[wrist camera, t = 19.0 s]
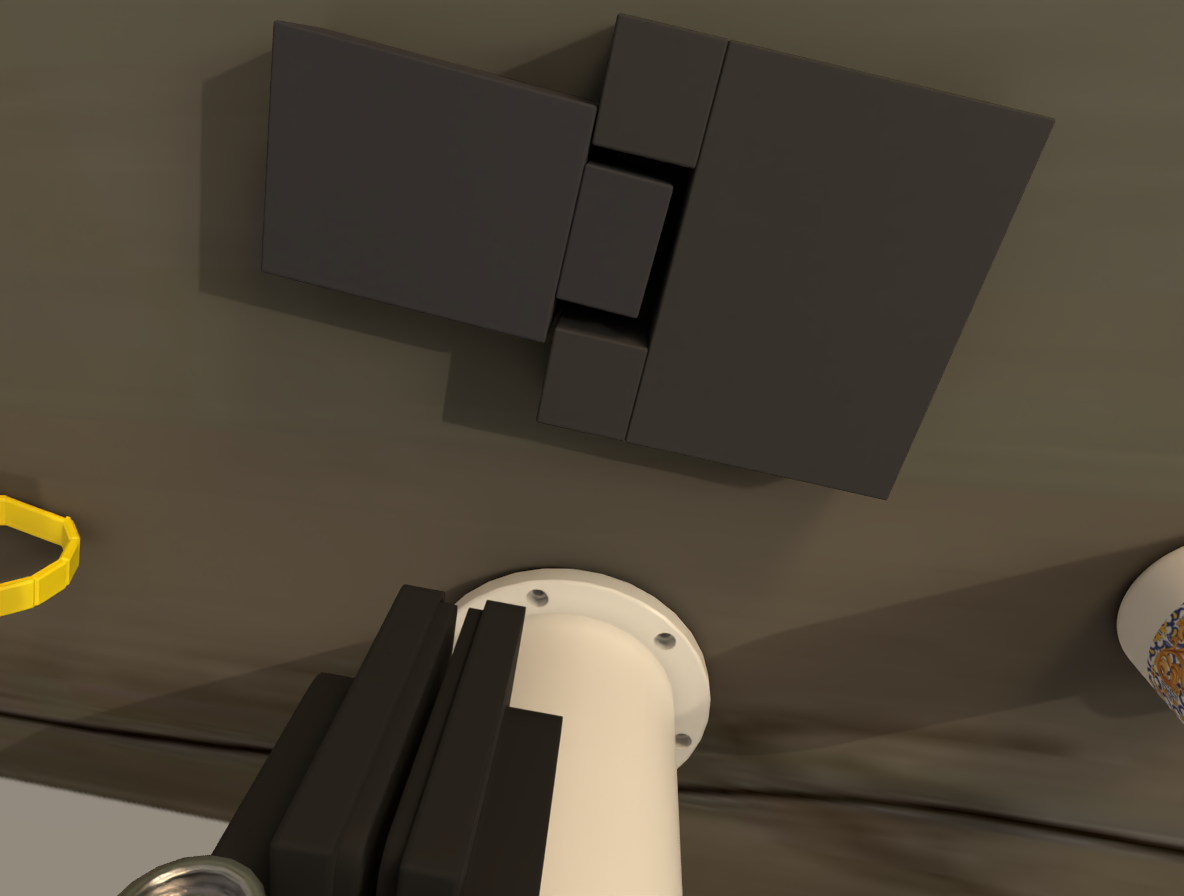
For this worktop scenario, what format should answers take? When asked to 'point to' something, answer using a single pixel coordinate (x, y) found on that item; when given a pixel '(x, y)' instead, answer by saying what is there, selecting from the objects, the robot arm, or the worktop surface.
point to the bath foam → (1157, 628)
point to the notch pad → (791, 257)
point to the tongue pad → (447, 188)
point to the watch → (51, 577)
